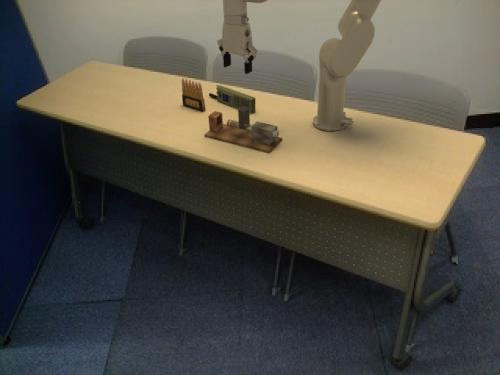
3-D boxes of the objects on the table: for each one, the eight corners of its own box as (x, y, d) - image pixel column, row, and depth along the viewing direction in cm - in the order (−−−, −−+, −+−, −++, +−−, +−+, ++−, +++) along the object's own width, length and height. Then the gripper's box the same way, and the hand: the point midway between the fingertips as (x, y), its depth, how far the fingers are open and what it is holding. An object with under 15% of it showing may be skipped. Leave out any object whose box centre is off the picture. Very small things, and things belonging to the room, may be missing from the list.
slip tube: (279, 135, 166) (279, 113, 161) (275, 140, 163) (275, 118, 158) (231, 123, 174) (230, 103, 169) (226, 128, 171) (224, 107, 166)
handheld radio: (251, 115, 188) (206, 98, 201) (256, 112, 190) (212, 96, 203) (251, 99, 184) (206, 83, 198) (256, 97, 186) (211, 81, 200)
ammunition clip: (205, 110, 192) (203, 82, 185) (202, 112, 191) (200, 83, 184) (185, 104, 197) (182, 76, 190) (182, 105, 196) (179, 78, 189)
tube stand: (282, 140, 170) (282, 122, 166) (269, 153, 163) (269, 135, 159) (219, 125, 181) (217, 107, 177) (204, 136, 174) (203, 119, 170)
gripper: (263, 20, 151) (264, 72, 161) (224, 11, 160) (227, 60, 170) (248, 26, 146) (249, 79, 156) (208, 16, 156) (212, 67, 165)
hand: (237, 69), depth 163 cm, fingers open, 9 cm apart
